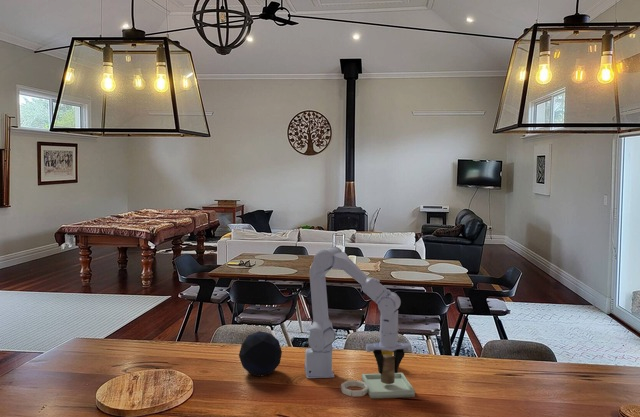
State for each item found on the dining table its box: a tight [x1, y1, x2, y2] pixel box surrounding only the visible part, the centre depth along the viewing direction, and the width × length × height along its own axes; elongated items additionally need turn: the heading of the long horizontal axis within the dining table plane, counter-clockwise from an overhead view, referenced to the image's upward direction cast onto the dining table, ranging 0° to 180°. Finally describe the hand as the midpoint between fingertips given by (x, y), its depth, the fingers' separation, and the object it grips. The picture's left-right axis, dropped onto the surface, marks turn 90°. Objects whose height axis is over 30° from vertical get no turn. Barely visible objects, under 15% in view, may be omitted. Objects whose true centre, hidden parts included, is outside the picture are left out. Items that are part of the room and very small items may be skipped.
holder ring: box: [340, 379, 368, 397], centre depth 159 cm, size 8×8×2 cm
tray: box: [361, 372, 416, 399], centre depth 161 cm, size 14×14×2 cm
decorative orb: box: [238, 330, 283, 377], centre depth 171 cm, size 14×15×15 cm
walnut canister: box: [381, 354, 395, 384], centre depth 161 cm, size 4×4×8 cm
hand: (387, 372), depth 161 cm, fingers closed on walnut canister, 4 cm apart
